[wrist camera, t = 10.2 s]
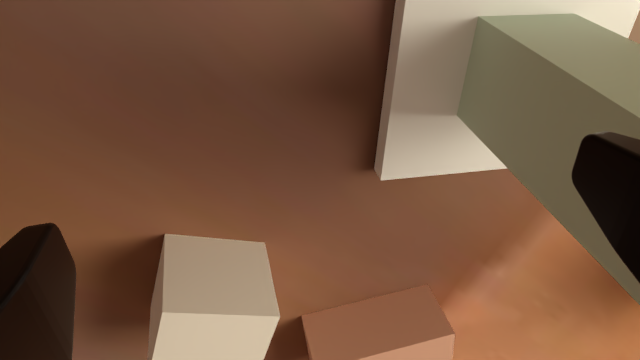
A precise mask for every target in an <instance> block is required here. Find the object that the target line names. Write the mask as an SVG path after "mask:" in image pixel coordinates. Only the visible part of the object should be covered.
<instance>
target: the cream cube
mask: <svg viewBox="0 0 640 360" xmlns="http://www.w3.org/2000/svg"><path fill="white" fill-rule="evenodd" d="M279 318H280V314H279V309H278V304H277V299H276V294H275V290H274V285H273V280H272V275H271V270H270V265H269V261H268V256H267V251H266V246H265V243H263V242H252V241H241V240H230V239H218V238H207V237H196V236H185V235H174V234H165V236H164V241H163V246H162V251H161V256H160V261H159V266H158V271H157V276H156V281H155V286H154V292H153V297H152V302H151V309H150V326H149V344H148V360H264V357H265V354H266V352H267V349H268V347H269V344H270V342H271V339H272V336H273V334H274V331H275V329H276V326H277V323H278V321H279Z"/></svg>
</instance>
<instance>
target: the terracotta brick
mask: <svg viewBox="0 0 640 360" xmlns="http://www.w3.org/2000/svg"><path fill="white" fill-rule="evenodd" d="M302 322H303V327H304V333H305V338H306V344H307V349H308V355H309V359H310V360H452V359H453V349H454V339H455V332H454V331H453V329H452V327H451V325H450V323H449V322H448V320H447V318H446V316H445V314H444V312H443V311H442V309H441V307H440V305H439V303H438V302H437V300H436V298H435V296H434V294H433V292H432V291H431V289H430V287H429V285H428V284H426V285H422V286H418V287H414V288H410V289H406V290H402V291H398V292H394V293H390V294H386V295H382V296H378V297H374V298H370V299H366V300H362V301H358V302H354V303H350V304H346V305H342V306H338V307H334V308H330V309H326V310H322V311H318V312H314V313H310V314H306V315H302Z"/></svg>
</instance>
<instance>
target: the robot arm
mask: <svg viewBox="0 0 640 360" xmlns="http://www.w3.org/2000/svg"><path fill="white" fill-rule="evenodd" d="M571 177H572V182H573V185H574V187H575V188H576V190H577V192H578V193H579V195H580V196H581V198H582V200H583V201H584V203H585V204H586V206H587V208H588V209H589V211H590V212H591V214H592V216H593V217H594V219H595V220H596V222H597V224H598V225H599V227H600V229H601V230H602V232H603V233H604V235H605V237H606V238H607V240H608V241H609V243H610V244H611V246H612V247H613V249H614V250H615V252H616V253H617V255H618V256H619V257H620V259H621V260H622V261H623V263H624V264H625V265H626V267H627V268H628V269H629V271H630V272H631V273H632V274H633V276H634V277H635V278H636V280H637V281H638V282H639V284H640V139H636V138H632V137H629V136H625V135H622V134H618V133H614V132H610V131H604V132H598V133H592V134H588V135H586V136H585V137H584V138H583V139H582V141H581V143H580V146H579V149H578V153H577V156H576V159H575V162H574V166H573V169H572V174H571ZM75 291H76V268H75V264H74V261H73V258H72V256H71V254H70V251H69V249H68V247H67V245H66V243H65V240H64V238H63V236H62V234H61V231H60V230H59V228H58V227H57V226H56V225H55V224H53V223H45V224H39V225H33V226H28V227H25V228H23V229H22V230H21V231H19V232H18V233H17V234H16V235H15V236H14V237H12V238H11V239H10V240H9V241H8V242H7V243H6V244H4V245H3V246H2V247H1V248H0V360H72V351H73V331H74V311H75Z"/></svg>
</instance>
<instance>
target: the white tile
mask: <svg viewBox="0 0 640 360" xmlns="http://www.w3.org/2000/svg"><path fill="white" fill-rule="evenodd" d="M639 10H640V0H396V2H395V10H394V18H393V25H392V33H391V41H390V49H389V57H388V65H387V72H386V80H385V88H384V96H383V104H382V111H381V119H380V127H379V135H378V143H377V151H376V158H375V166H374V170H375V172H376V173H377V175H378V177H379V179H380V180H391V179H401V178H412V177H422V176H432V175H443V174H453V173H463V172H474V171H484V170H494V169H505V168H507V167H506V166H505V165H504V164H503V163H502V162H501V161H500V160H499V159H498V158H497V157H496V156H495V155H494V154H493V153H492V152H491V151H490V150H489V149H488V147H487V146H486V145H485V144H484V143H483V142H482V141H481V140H480V139H479V138H478V137H477V136H476V135H475V134H474V133H473V132H472V131H471V130H470V129H469V128H468V127H467V126H466V125H465V124H464V123H463V122H462V121H461V120H460V119H459V117H458V116H457V112H458V107H459V103H460V98H461V93H462V89H463V84H464V80H465V75H466V71H467V66H468V61H469V57H470V52H471V48H472V43H473V38H474V34H475V29H476V25H477V20H478V16H507V15H540V14H577V15H579V16H581V17H583V18H585V19H587V20H589V21H592V22H594V23H596V24H598V25H600V26H602V27H604V28H606V29H609V30H611V31H613V32H615V33H617V34H619V35H621V36H623V37H626V38H628V37H629V35H630V32H631V30H632V27H633V25H634V22H635V20H636V17H637V15H638V12H639Z"/></svg>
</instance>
